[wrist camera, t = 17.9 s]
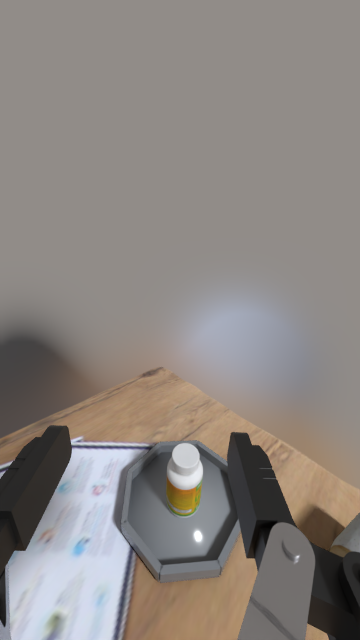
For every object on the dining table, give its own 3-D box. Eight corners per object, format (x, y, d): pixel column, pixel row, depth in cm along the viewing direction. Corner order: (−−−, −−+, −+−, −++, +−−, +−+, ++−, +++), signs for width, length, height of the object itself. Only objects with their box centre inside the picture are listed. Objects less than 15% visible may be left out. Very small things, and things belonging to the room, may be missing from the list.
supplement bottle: (199, 522, 32) (204, 475, 29) (163, 516, 33) (163, 470, 30) (200, 484, 37) (205, 441, 34) (169, 479, 38) (170, 436, 35)
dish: (100, 506, 34) (99, 496, 33) (176, 434, 47) (177, 425, 47) (193, 633, 24) (195, 623, 23) (259, 495, 37) (261, 485, 36)
